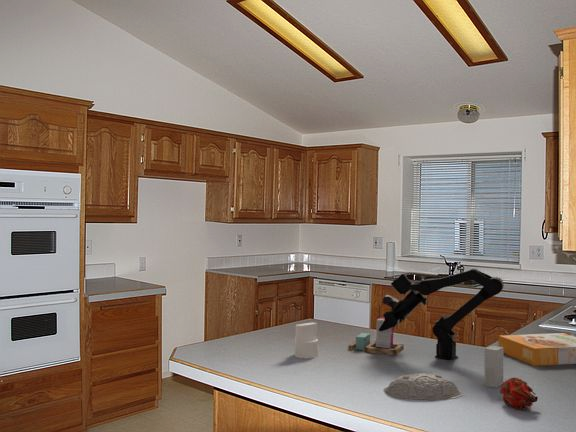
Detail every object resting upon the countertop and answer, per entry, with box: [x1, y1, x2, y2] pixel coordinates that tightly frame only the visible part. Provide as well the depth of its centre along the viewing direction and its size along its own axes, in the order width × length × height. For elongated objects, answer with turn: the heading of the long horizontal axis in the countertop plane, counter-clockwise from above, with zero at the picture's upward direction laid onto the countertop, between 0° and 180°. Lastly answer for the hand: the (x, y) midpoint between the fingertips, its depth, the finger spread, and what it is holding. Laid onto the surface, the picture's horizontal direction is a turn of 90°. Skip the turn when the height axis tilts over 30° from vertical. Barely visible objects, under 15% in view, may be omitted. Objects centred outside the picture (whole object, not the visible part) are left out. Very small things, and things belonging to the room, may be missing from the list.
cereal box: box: [498, 332, 576, 367], centre depth 218 cm, size 22×6×30 cm
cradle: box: [347, 340, 405, 356], centre depth 226 cm, size 19×12×2 cm, turn 65°
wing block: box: [355, 332, 371, 351], centre depth 228 cm, size 8×4×5 cm, turn 155°
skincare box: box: [483, 344, 504, 389], centre depth 179 cm, size 6×4×12 cm
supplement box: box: [375, 317, 395, 349], centre depth 224 cm, size 6×6×12 cm
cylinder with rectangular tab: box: [294, 321, 319, 359], centre depth 215 cm, size 9×9×12 cm
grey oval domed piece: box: [382, 373, 463, 401], centre depth 171 cm, size 16×25×7 cm, turn 95°
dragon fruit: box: [499, 377, 539, 411], centre depth 159 cm, size 8×8×12 cm
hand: (381, 329), depth 225 cm, fingers closed on supplement box, 6 cm apart
